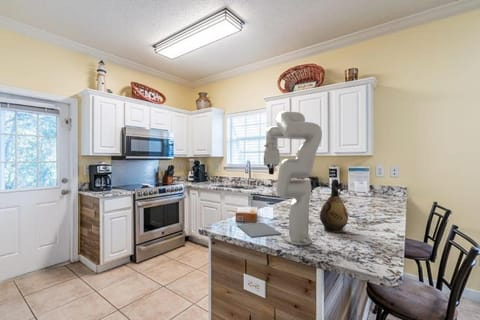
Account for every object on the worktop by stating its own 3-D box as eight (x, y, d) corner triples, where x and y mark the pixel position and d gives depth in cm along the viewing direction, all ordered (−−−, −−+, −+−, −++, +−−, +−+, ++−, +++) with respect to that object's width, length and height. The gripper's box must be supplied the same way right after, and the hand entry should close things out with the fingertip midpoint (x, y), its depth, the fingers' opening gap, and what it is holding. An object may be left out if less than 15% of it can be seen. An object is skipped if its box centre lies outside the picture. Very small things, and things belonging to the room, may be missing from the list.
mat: (281, 234, 130) (281, 233, 130) (251, 237, 124) (251, 236, 124) (263, 223, 151) (263, 222, 151) (237, 225, 144) (237, 224, 144)
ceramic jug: (350, 235, 130) (352, 181, 130) (321, 233, 133) (322, 180, 133) (343, 226, 147) (344, 178, 146) (317, 224, 150) (318, 177, 149)
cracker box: (256, 223, 153) (257, 214, 173) (256, 213, 152) (258, 206, 173) (235, 221, 154) (238, 213, 175) (235, 212, 154) (239, 205, 175)
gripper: (264, 146, 150) (263, 174, 150) (284, 146, 155) (284, 174, 156) (259, 146, 157) (258, 174, 157) (278, 147, 162) (278, 173, 163)
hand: (271, 174), depth 156 cm, fingers closed
